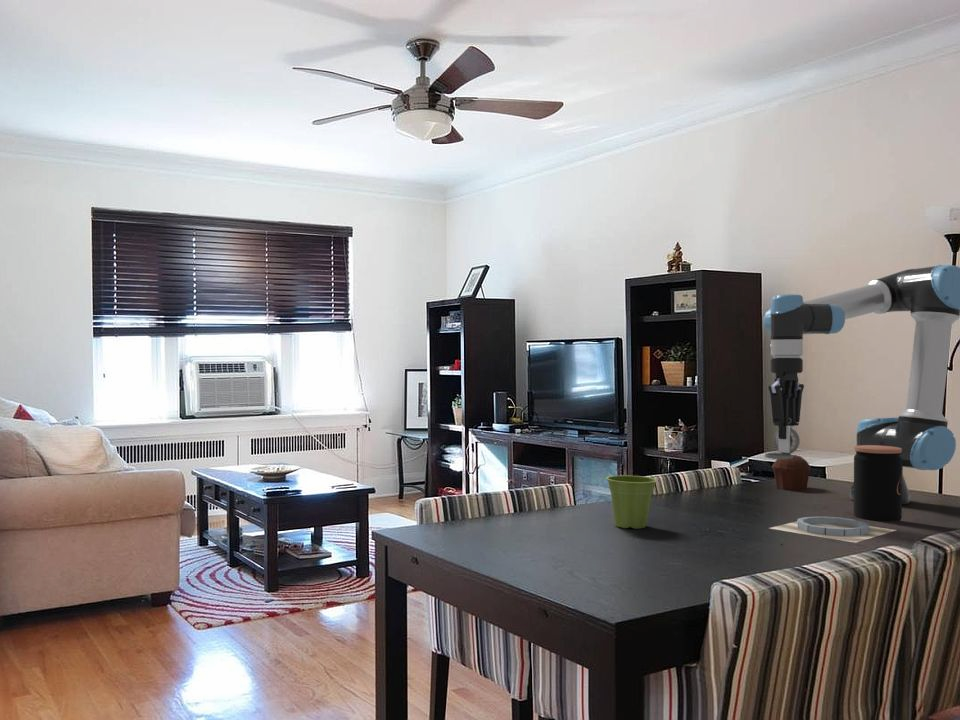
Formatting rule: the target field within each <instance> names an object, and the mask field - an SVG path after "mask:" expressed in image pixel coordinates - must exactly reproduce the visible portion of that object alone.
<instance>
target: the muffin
mask: <svg viewBox="0 0 960 720" xmlns="http://www.w3.org/2000/svg"><path fill="white" fill-rule="evenodd" d="M792 455H793V458H791V459H775V461H774V462H773V463H772V465H771V467H772V469H773V475H774V482H775V487H776V489H778V490H784V491H804V490H805V491H806V490H807V488H808V482H809V476H810V471H811V469H812V467H811V466H810V464H809V462H808V461H807V460H806V459H804V458H803V457H802V456H800V455H796V454H792Z"/></svg>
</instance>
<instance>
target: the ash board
mask: <svg viewBox="0 0 960 720" xmlns="http://www.w3.org/2000/svg"><path fill="white" fill-rule="evenodd" d="M811 525H815V526H822V527H831V528H854V527H850V526H844V525H835V524H811ZM768 529H770V530H776V531H783V532H788V533H794V534H800V535H807V536H812V537H817V538H823V539H824V538H825V539H829V540H838V541H843V542H848V543H849V542H850V543H855V544H857V543H860V542H863V541H866V540H870V539H873V538H876V537H879V536H882V535H887V534H889V533H894V532H897V529H890V528H883V527H878V526H872V525H871V526H870V525H869V533H868V534H864V535H860V536H833V535H826V534H825V535H822V534H816V533H810V532H806V531H803V530H800V529H798V527H797V521H792V522H788V523H785V524H781V525H780V524H779V525H776V526H772V527H768Z"/></svg>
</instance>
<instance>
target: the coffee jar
mask: <svg viewBox="0 0 960 720" xmlns="http://www.w3.org/2000/svg"><path fill="white" fill-rule="evenodd" d="M853 450H854V452H855V455H854V456H853V482H854V500H853V516H854V518H857V519H861V520H867V521H875V522H897V521H898V522H900V521H901V520H902V518H903V515H902V513H903V504H902V458H901V457H900V454H901V452H902V449H901V448H898V447H891V446H876V445H860V446H857V445H854V447H853Z"/></svg>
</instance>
